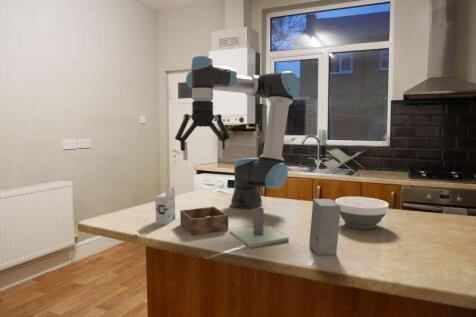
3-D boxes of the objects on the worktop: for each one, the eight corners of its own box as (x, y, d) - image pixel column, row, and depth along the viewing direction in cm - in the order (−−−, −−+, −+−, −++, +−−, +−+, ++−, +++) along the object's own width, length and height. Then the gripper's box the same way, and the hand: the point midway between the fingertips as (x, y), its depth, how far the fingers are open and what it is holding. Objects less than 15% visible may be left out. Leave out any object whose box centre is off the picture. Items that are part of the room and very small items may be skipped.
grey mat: (265, 228, 126) (265, 227, 126) (288, 241, 113) (288, 240, 113) (229, 234, 120) (229, 233, 120) (249, 248, 107) (249, 247, 106)
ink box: (164, 220, 138) (163, 184, 137) (175, 220, 137) (175, 185, 136) (155, 226, 130) (154, 188, 128) (167, 227, 129) (166, 189, 127)
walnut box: (214, 222, 135) (214, 206, 134) (228, 232, 122) (228, 215, 122) (180, 226, 129) (180, 210, 128) (191, 237, 116) (191, 219, 116)
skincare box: (308, 245, 109) (309, 198, 107) (329, 245, 110) (331, 197, 108) (317, 256, 101) (318, 204, 99) (339, 255, 101) (341, 204, 100)
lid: (265, 227, 126) (266, 202, 125) (288, 240, 113) (289, 211, 112) (230, 233, 120) (229, 206, 119) (249, 247, 107) (249, 216, 105)
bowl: (332, 230, 125) (333, 205, 124) (336, 216, 143) (336, 195, 142) (389, 236, 118) (390, 210, 117) (385, 221, 136) (386, 198, 135)
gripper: (229, 102, 130) (229, 156, 132) (165, 100, 119) (167, 159, 121) (238, 101, 123) (238, 158, 125) (171, 99, 112) (172, 161, 114)
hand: (203, 159), depth 123 cm, fingers open, 13 cm apart
